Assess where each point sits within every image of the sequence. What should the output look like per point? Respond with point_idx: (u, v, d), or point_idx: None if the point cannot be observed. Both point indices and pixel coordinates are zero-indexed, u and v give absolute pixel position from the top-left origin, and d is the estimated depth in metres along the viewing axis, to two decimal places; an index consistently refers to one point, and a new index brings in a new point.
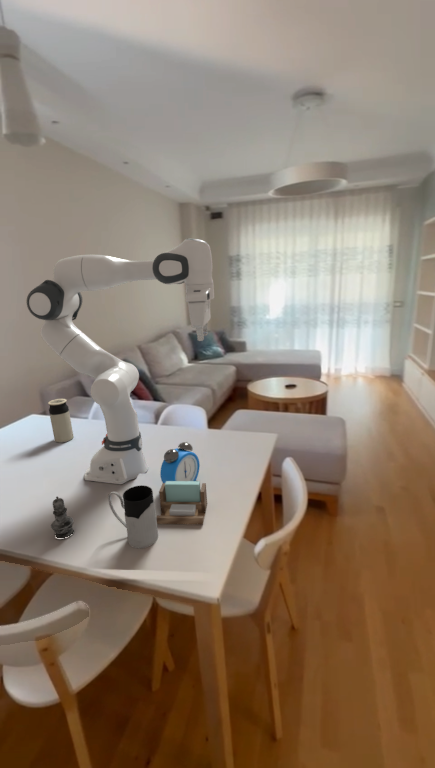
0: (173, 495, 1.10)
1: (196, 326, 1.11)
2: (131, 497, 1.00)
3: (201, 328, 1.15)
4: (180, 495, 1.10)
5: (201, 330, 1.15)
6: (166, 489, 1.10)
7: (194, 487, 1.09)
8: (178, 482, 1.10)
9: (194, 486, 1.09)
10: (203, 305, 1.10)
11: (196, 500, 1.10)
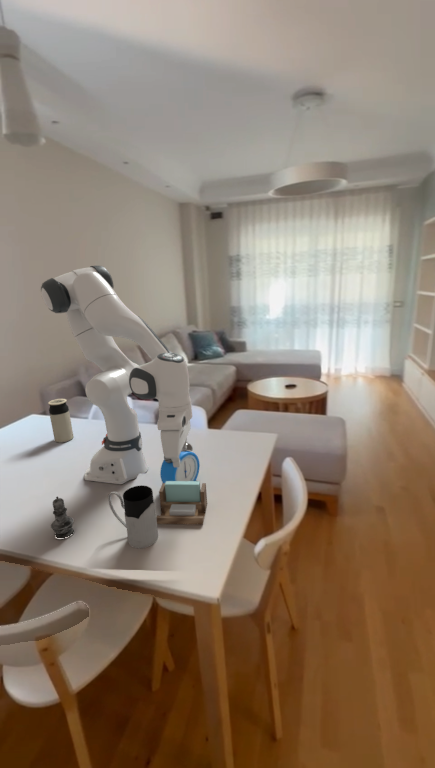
0: (173, 495, 1.10)
1: (170, 457, 0.97)
2: (131, 497, 1.00)
3: None
4: (180, 495, 1.10)
5: (177, 457, 1.00)
6: (166, 489, 1.10)
7: (194, 487, 1.09)
8: (178, 482, 1.10)
9: (194, 486, 1.09)
10: (177, 435, 0.95)
11: (196, 500, 1.10)
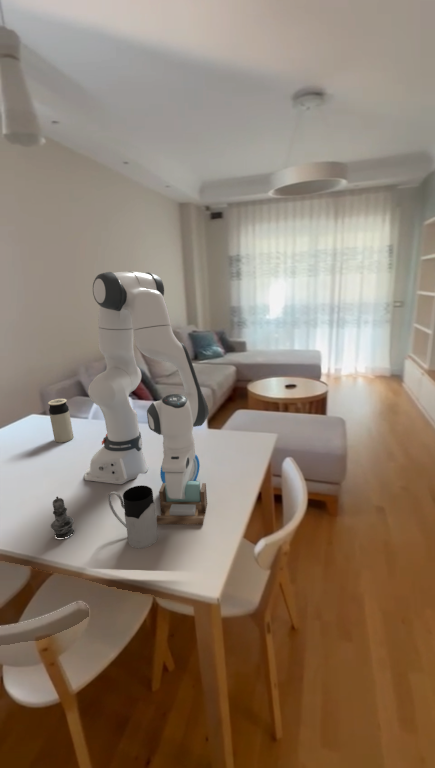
0: None
1: (174, 498, 1.00)
2: (131, 497, 1.00)
3: None
4: None
5: None
6: (166, 489, 1.10)
7: (194, 487, 1.09)
8: None
9: (194, 486, 1.09)
10: (181, 477, 0.99)
11: (196, 500, 1.10)
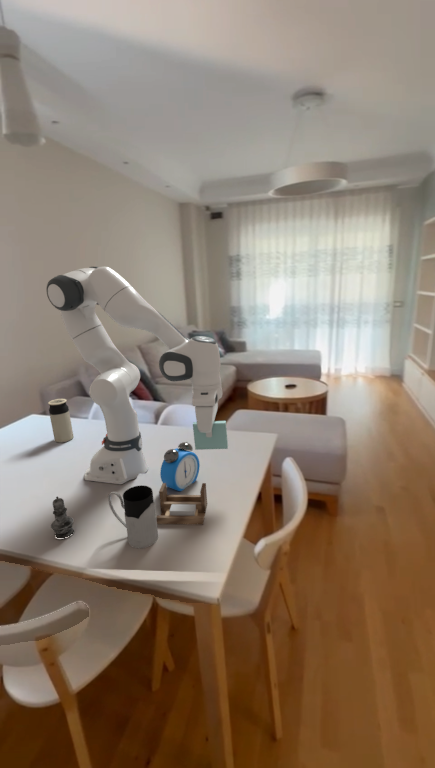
0: (201, 434, 1.15)
1: (203, 431, 1.05)
2: (131, 497, 1.00)
3: None
4: None
5: None
6: (194, 429, 1.15)
7: (221, 426, 1.14)
8: None
9: (221, 425, 1.14)
10: (211, 410, 1.04)
11: (223, 439, 1.15)
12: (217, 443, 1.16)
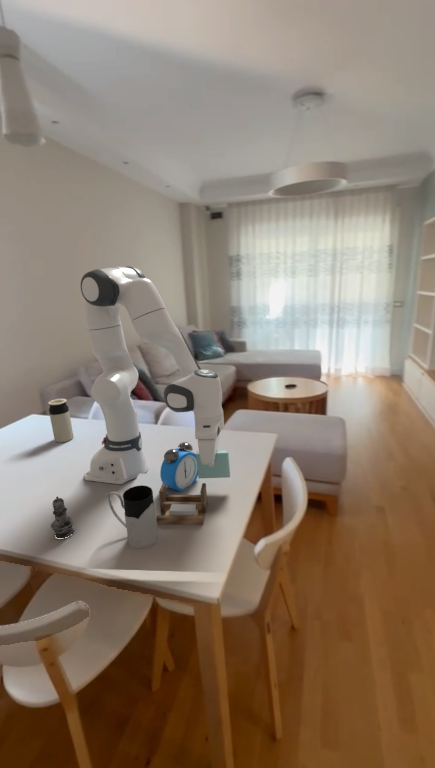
0: None
1: (206, 464, 1.08)
2: (131, 497, 1.00)
3: None
4: None
5: None
6: (197, 458, 1.18)
7: (223, 455, 1.17)
8: None
9: (223, 454, 1.17)
10: (213, 443, 1.07)
11: (225, 468, 1.18)
12: (220, 472, 1.18)
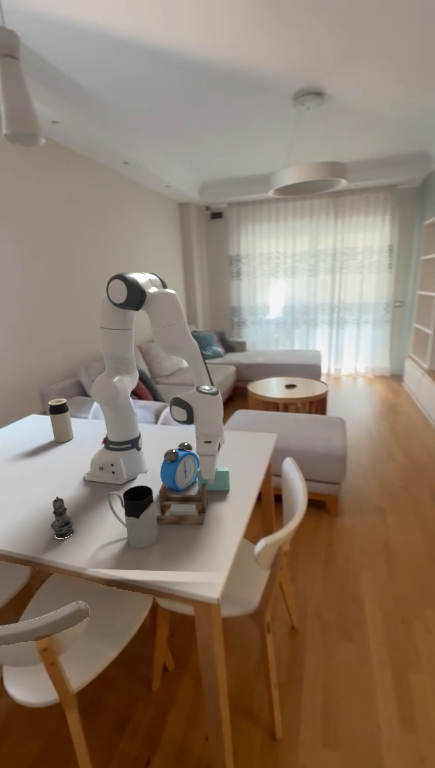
0: (205, 480, 1.20)
1: (207, 479, 1.10)
2: (131, 497, 1.00)
3: None
4: None
5: None
6: (198, 475, 1.20)
7: (224, 473, 1.19)
8: None
9: (224, 472, 1.18)
10: (214, 459, 1.08)
11: (225, 485, 1.20)
12: (220, 489, 1.20)
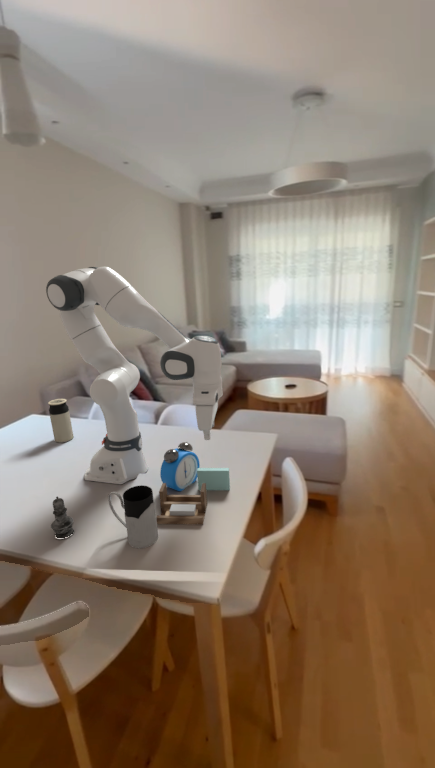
0: (205, 480, 1.20)
1: (203, 430, 1.07)
2: (131, 497, 1.00)
3: None
4: (211, 481, 1.20)
5: (208, 431, 1.10)
6: (198, 475, 1.20)
7: (224, 473, 1.19)
8: (209, 469, 1.20)
9: (224, 472, 1.18)
10: (211, 409, 1.05)
11: (225, 485, 1.20)
12: (220, 489, 1.20)
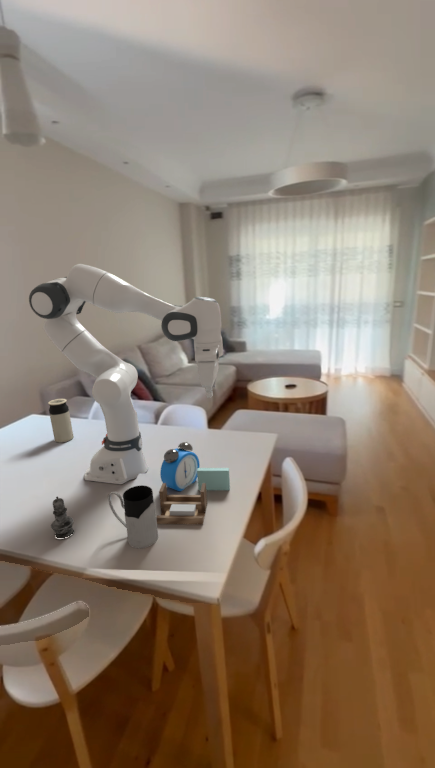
0: (205, 480, 1.20)
1: (205, 386, 1.11)
2: (131, 497, 1.00)
3: None
4: (211, 481, 1.20)
5: (210, 388, 1.15)
6: (198, 475, 1.20)
7: (224, 473, 1.19)
8: (209, 469, 1.20)
9: (224, 472, 1.18)
10: (212, 365, 1.10)
11: (225, 485, 1.20)
12: (220, 489, 1.20)
